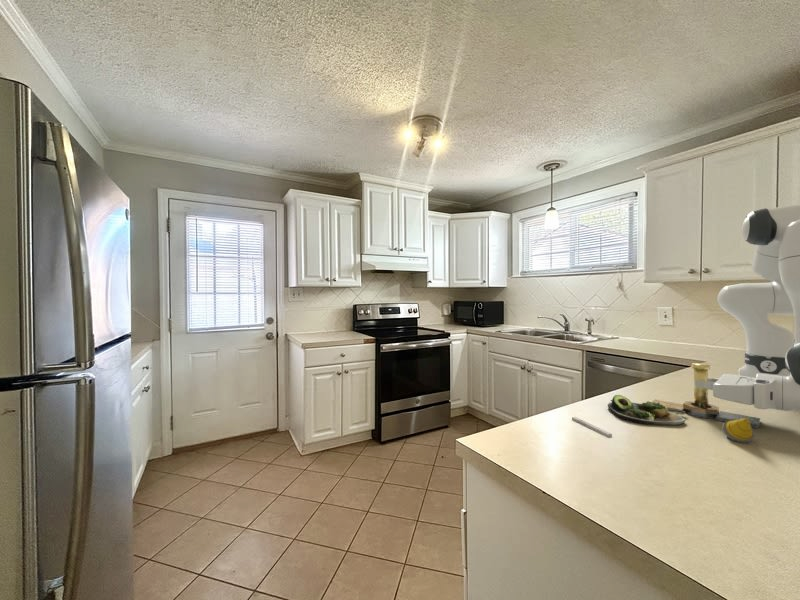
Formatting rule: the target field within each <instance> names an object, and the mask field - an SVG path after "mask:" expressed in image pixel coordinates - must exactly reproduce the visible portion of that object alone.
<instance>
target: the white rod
mask: <svg viewBox="0 0 800 600" xmlns="http://www.w3.org/2000/svg"><path fill="white" fill-rule="evenodd" d="M571 420H572V421H574V422H576V423H578V424H580V425H582V426H584V427H587V428H588V429H591V430H593V431H595V432H597V433H599V434H601V435H603V436H605V437H607V438H611V437H613V434H612V433H611V432H609V431H607V430H605V429H602V428H600V427H597V426H596V425H594V424H591V423H589V422H587V421H585V420H584V419H580V418H579V417H576V416H572V417H571Z"/></svg>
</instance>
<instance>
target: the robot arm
mask: <svg viewBox="0 0 800 600" xmlns="http://www.w3.org/2000/svg"><path fill="white" fill-rule="evenodd" d="M741 235H742V237H743V239H744V241H745V242H747V243H748V244H751V245H753V246H754V245H755V251H754V256H753V259H752V260H753V261H752V265H751V268H752V270H753V272H754V273H755V274H756V275H757V276H759V277H761V278H762V279H765V280H769V281H770V282H748V283H747V282H741V283H737V284H731V285H725V286H724V287H722V288H721V290H720V291H719V292H718V295H717V297H716V298H717V299H716V300H717V304H718V306H719V308H721V310H723V311H724V312H725V313H727V314H729V315H731V316H732V317H733V318H735V319H736V320H737V321H738V323H739V324H740V326H742V329H743V331H744V337H745V344H746V345H745V347H746V348H745V349H746V352H745V353H744V356H743V360H744V363H745V364H744V365H743V366H742V367H740V368H738V374H734V373H733V374H731V373H723V374H722V375H721V376H720V377H719V378H718V377H708V381H704V380H696V381H695V386H697V387H703V388H706V389H708V390H709V391H712V396H713V397H714V398H716V399H720V400H723V401H729V402H732V403H733V402H734V403H738V404H742V405H749V406H753V407H754V408H755V409H758V410H776V411H783V412H797V413H800V203H798V204H790V205H784V206H777V207H772V208H761V209H757V210H753V211H750V212H749V213H748V214H747V215H746V216H745V219H744V221H743V223H742V226H741ZM770 315H773V316H774V315H776V316H777V315H779V316H780V315H783V316H786V315H787V316H790V315H791V316H792V315H793V320H794V321H793V322H794V324H793V325H794V326H793V327H794V334H793V332H792V331H790V329H787V328H786V327H784V326H781V325H779V324H776V323H772V322H771V321H770V320H769V317H768V316H770Z"/></svg>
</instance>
